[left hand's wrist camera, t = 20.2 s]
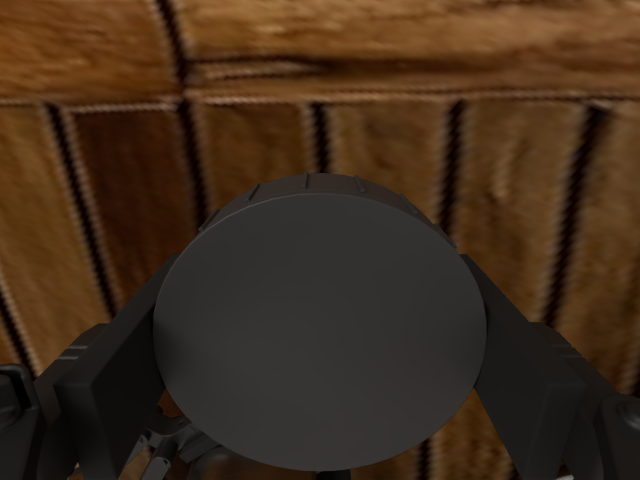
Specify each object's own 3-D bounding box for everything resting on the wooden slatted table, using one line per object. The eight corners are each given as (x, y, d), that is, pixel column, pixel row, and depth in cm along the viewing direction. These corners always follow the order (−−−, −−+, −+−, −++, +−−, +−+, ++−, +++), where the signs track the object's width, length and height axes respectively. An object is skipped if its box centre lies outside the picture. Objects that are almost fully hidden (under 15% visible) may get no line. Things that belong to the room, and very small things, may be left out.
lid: (471, 388, 14) (500, 443, 12) (233, 433, 14) (217, 493, 12) (439, 137, 10) (471, 148, 8) (134, 213, 11) (90, 241, 9)
